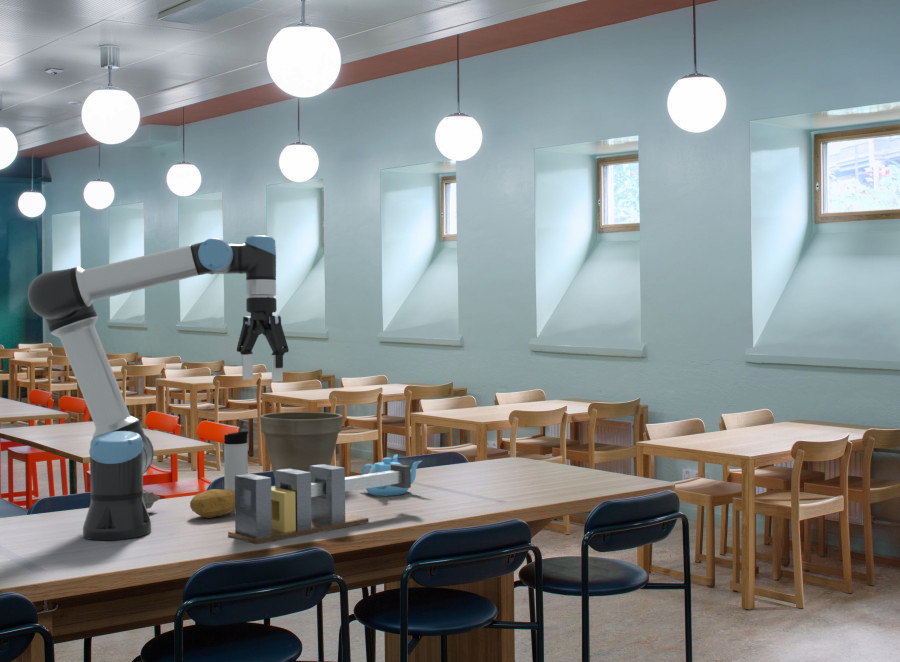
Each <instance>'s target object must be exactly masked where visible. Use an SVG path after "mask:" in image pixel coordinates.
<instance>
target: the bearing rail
mask: <svg viewBox="0 0 900 662" xmlns="http://www.w3.org/2000/svg"><path fill="white" fill-rule="evenodd" d="M309 468H310V472H306V471H300V470H295V469H282V470H275V477H274V487H276V488H281V489H285V490H289V485H291V488H292V491H295V507H296V530H295V531H290V532H282V531H278V530H274V529H272V513H271V488H272V477H268V476H264V475H257V474H254V473H248V474H243V475H236V476H235V509H234V528H235V529H234V530H231V531H230V530H229V531H227V536H228V537H231V538H234V539H236V540H237V539H238V540H241V541H243V542H244V541H245V542H248V543H251V544H255V545H258V544H264V543H269V542H273V541H279V540H284V539H289V538H290V539H291V538H295V537H300V536H304V535H305V536H306V535H310V534H314V533H321V532H325V531H326V532H327V531H331V530H337V529H342V528H346V527H351V526H358V525H363V524H367V523H369V518H367V517H363V516H359V515H355V514H349V513H346V492H345V477H346V470H345V469H346V467H343V466H338V465H337V466H336V465H332V464H331V465H325V464H320V465H312V466H309ZM323 480H326V495H322V496H316V497H311V482H316V481H323Z"/></svg>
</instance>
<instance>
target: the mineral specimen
mask: <svg viewBox="0 0 900 662" xmlns="http://www.w3.org/2000/svg"><path fill="white" fill-rule="evenodd" d="M160 498H161V496H159V495H156V494H154V492H153V491H146V490H144V489H143V501H144V504H145V506H146V509H147V510H148V509H151V508H152V506H153V505H154V503H157V502H158V501H159V500H160Z"/></svg>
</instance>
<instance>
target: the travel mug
mask: <svg viewBox="0 0 900 662" xmlns="http://www.w3.org/2000/svg"><path fill="white" fill-rule="evenodd" d="M248 434H249V430H244V431H238V432H231V433H227V434H224V435H223V436H224V438H223V440H224V441H223V443H224V444H223V445H224V446H223V452H224V453H223V455H224V456H223V458H224V460H223V461H224V462H223V466H224V467H223V468H224V469H223V470H224V473H223V474H224V476H223V477H224V479H223V480H224V489H228V490H232V491H234V492H235V476H236V475H243V474H249V471H248V470H249V468H248V466H249V465H248V464H249V462H248V461H249V459H248V458H249V457H248V451H249V450H248V447H249V446H248Z"/></svg>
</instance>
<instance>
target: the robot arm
mask: <svg viewBox="0 0 900 662" xmlns="http://www.w3.org/2000/svg"><path fill="white" fill-rule="evenodd" d="M276 247H277V246H276V240H275V239H274V238H273V237H272V236H269V235H249V236H246V238H245V242H244V243H242V244H241V243H238V244H236V243H228V242H227V241H226V240H225V239H222V238H218V237H211V238H208V239H206V240H204V241H201V242H197V243H194V244H189V245H185V246H181V247H176V248H172V249H168V250H163V251H158V252H154V253H151V254H145V255H143V256H138V257H137V256H136V257H134V258H129V259H124V260H121V261H117V262H111V263H108V264H104V265H99V266H95V267H90V268H86V269H84V268H82V267H80V266H74V267H71V268H67V269H60V270H58V269H57V270H50V271H45V272H43V273H40V274H39V275H37V276H36V277H35V278H33V280H32V281H31V282H30V284H29V286H28V288H27V289H28V290H27V300H28V304H29V306H30V308H31V309H32V311H33V312H34V313H36V314H37V315H38V316H39V317H40V318H43V319H44V321H45V322H46V325H47V327H48V330H49V332H50V335H52V336H55V337H57V338H59V339H60V342H61V344H62V347H63V349H64V352H65V355H66V358H67V360H68V362H69V364H70V367H71V370H72V372H73V375H74V377H75V380H76V382H77V384H78V387H79V389H80V392H81V394H82V398H83V400H84V402H85V405H86V407H87V409H88V413H89V414H90V418H91V419H92V422H93V424H94V427H95V430H94V433H93V435H92V439H91V440H90V446H89V447H90V448H89V450H88V452H89V461H90V463H89V466H90V468H89V471H90V472H89V474H90V479H89V480H90V504H89V508H88V511H87V513H86V517H85V519H84V523H83V525H82V537H83V538H84V539H87V540H95V541H114V540H116V541H117V540H118V541H119V540H126V539H127V540H128V539H133V538H137V537H143V536H146V535H148V534H149V533H152V521H151V518H150V514H149V512H148V509H146V506H145V504H144V501H143V491H144V474H145V473H146V472H148V470H149V469H150V467H151V465H152V463H153V461H154V456H155V455H154V454H155V453H154V452H155V450H154V446H153V443H152V441H151V440H150V438H149V437H148V436H147V435H146V434H145V431H144V429H143V427H142V425H141V422H140V420H139V418H137V417H135V416H133V415H131V413H130V412H129V408H128V406H127V404H126V402H125V399H124V396H123V394H122V392H121V390H120V386H119V384H118V382H117V379H116V376H115V374H114V371H113V368H112V366H111V364H110V362H109V358H108V356H107V354H106V352H105V348H104V346H103V343H102V341H101V339H100V335H99V333H98V331H97V329H96V324H97V321H98V319H99V316H98V314H97V312H96V309H95V306H94V303H93V302H94V301H99V300H104V299H108V298H111V297H115V296H119V295H124V294H128V293H132V292H135V291H140V290H144V289H148V288H153V287H157V286H161V285H165V284H169V283H173V282H177V281H181V280H186V279H188V278H189V279H190V278H194V277H197V276H202V275H207V274H208V275H217V274H218V275H219V274H221V275H224V274H225V275H227V274H228V275H229V274H230V275H231V274H232V275H233V274H239V275H240V274H245V276H246V277H245V295H246V296H247V298H246V303H245V304H246V308H245V309H246V313H250V316H247V315H246V316H243V317H242V326H241V330H240V334H239V338H238V343H237V346H236V351H237V352H238V353H240V355H241V364H242V366H241V367H242V369H241V371H242V374H241V375H242V380H243V381H247V380H249V381H250V380H251V381H252V380H254V353H253V349H254V347H255V345H256V342H257V340H258V338H259V336H260V335H263V336H265V339H266V341H267V342H268V345H269V347H270V349H271V351H272V353H271V382H274V383H275V382H283V379H284V378H283V376H284V375H283V372H284V371H283V367H284V355H285V354H286V353H289V351H290V350H289V346H288V343H287V342H288V341H287V339H286V335H285V333H284V329H283V325H282V317H281V315H273V313H276V312H277V299H276V298H275V296H277V248H276Z"/></svg>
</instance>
